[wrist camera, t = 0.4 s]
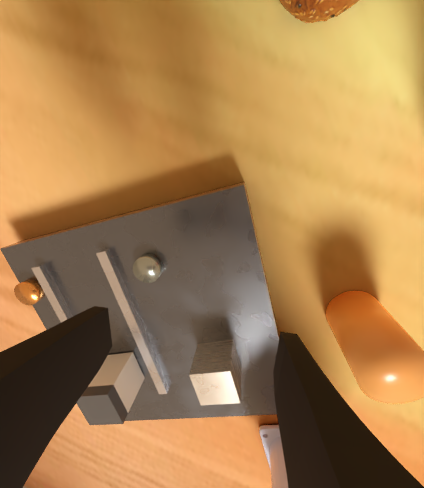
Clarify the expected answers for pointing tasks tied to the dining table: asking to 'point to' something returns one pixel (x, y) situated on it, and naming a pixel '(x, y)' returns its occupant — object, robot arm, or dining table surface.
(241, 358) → the panel
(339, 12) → the pretzel
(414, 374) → the cap
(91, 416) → the lever
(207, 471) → the dining table surface
